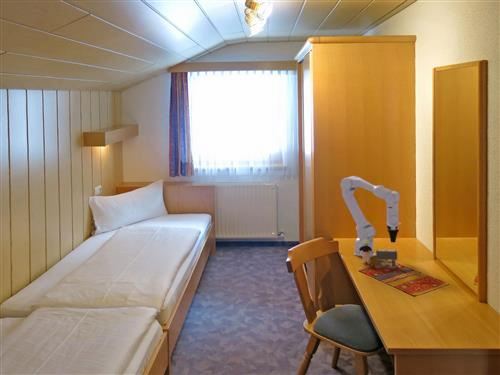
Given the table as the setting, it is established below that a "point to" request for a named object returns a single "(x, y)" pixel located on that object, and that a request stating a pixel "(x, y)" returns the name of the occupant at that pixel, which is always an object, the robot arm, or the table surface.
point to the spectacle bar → (386, 254)
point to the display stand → (386, 264)
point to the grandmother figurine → (365, 251)
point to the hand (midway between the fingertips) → (392, 240)
